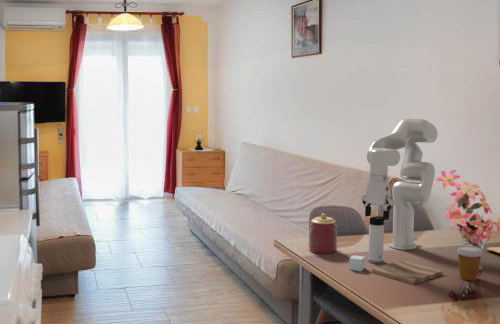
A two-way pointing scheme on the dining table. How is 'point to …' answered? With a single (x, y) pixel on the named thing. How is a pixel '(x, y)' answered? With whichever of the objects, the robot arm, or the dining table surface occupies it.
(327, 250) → the canister
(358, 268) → the grey-blue block
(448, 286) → the dining table surface
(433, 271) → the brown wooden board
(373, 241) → the travel mug
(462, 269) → the disposable coffee cup
